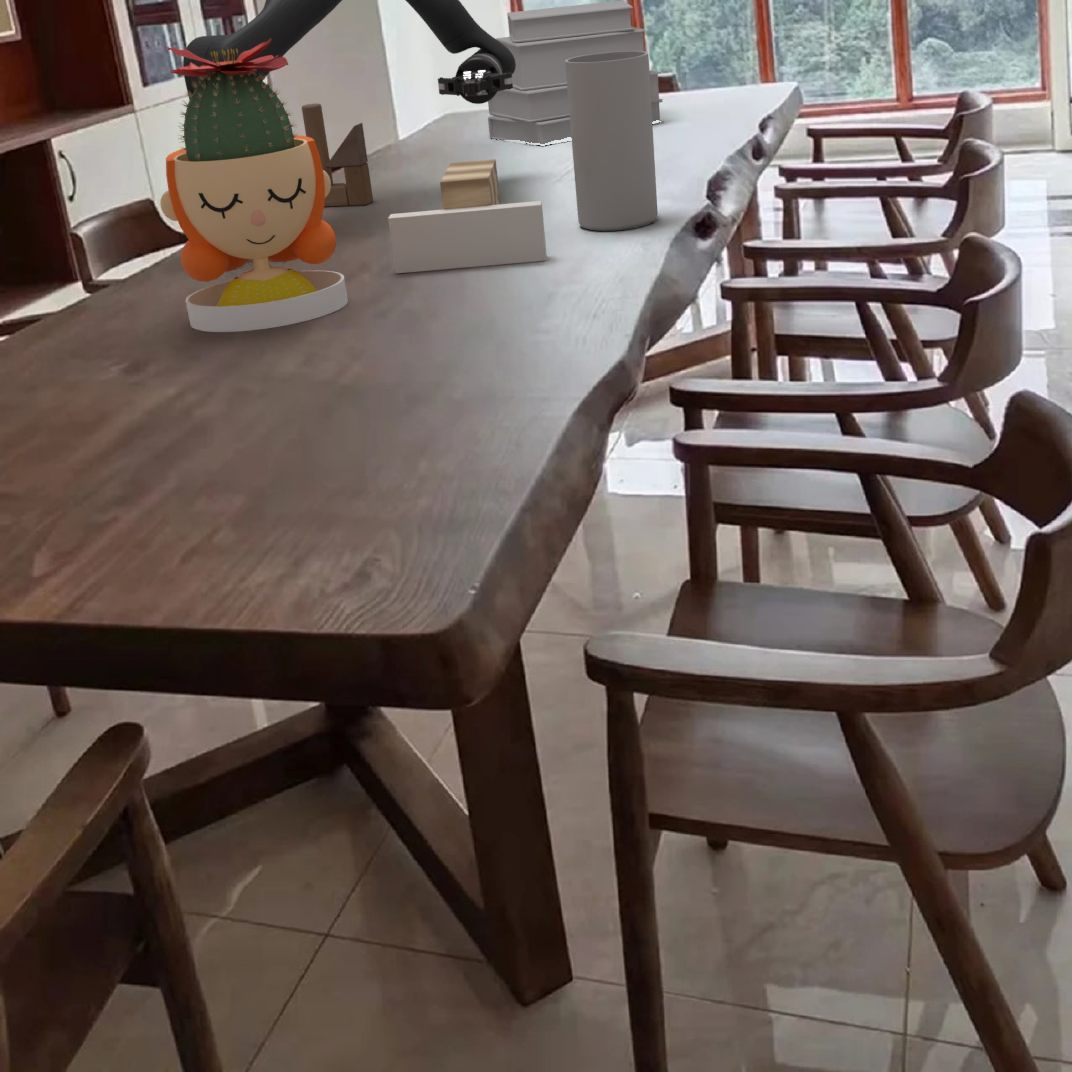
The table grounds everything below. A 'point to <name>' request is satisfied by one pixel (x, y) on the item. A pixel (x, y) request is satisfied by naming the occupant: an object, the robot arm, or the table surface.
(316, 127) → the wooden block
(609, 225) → the cylinder vase
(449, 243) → the board
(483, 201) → the maple block
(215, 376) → the table surface
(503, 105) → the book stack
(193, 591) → the table surface
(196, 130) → the potted cactus
